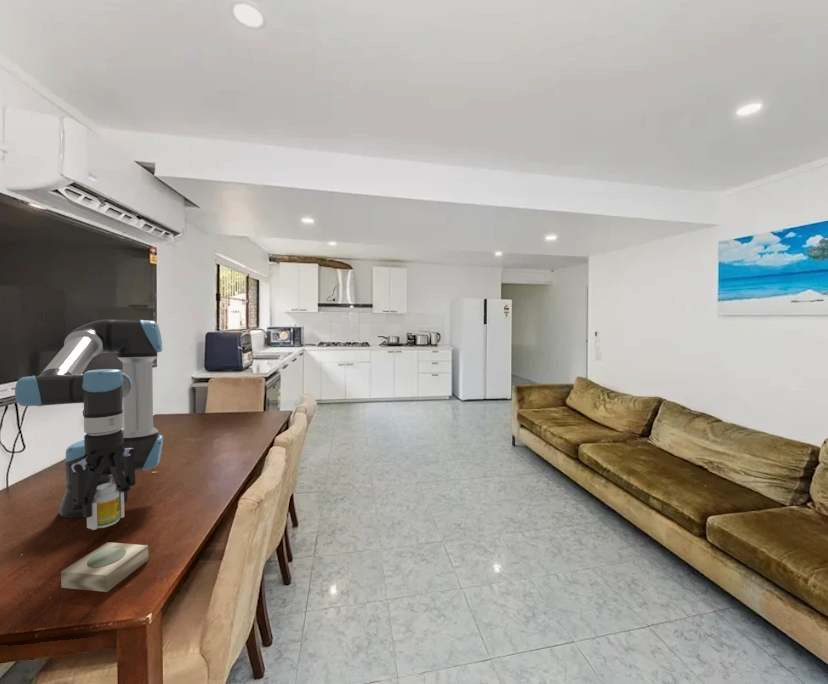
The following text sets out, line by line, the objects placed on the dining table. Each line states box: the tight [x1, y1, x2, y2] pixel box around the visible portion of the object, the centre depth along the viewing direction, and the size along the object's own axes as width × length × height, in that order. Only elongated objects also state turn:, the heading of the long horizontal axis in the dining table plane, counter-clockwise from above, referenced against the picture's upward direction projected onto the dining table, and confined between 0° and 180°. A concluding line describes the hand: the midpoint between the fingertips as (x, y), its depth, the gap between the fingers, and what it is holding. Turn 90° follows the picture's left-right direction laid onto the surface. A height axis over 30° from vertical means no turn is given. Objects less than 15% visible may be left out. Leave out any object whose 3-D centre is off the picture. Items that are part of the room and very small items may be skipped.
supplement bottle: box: [93, 482, 121, 529], centre depth 93 cm, size 5×5×10 cm
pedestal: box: [60, 541, 149, 593], centre depth 93 cm, size 12×12×4 cm
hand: (106, 521), depth 93 cm, fingers closed on supplement bottle, 5 cm apart
